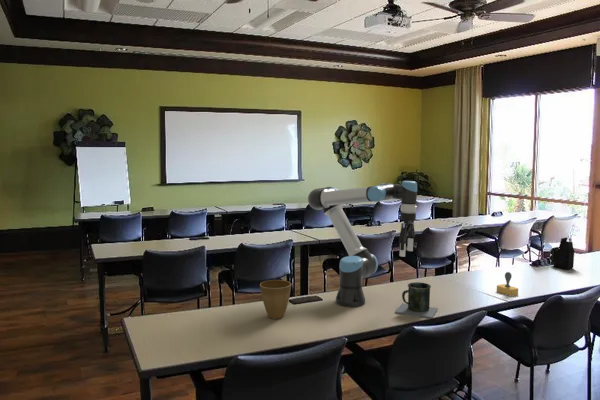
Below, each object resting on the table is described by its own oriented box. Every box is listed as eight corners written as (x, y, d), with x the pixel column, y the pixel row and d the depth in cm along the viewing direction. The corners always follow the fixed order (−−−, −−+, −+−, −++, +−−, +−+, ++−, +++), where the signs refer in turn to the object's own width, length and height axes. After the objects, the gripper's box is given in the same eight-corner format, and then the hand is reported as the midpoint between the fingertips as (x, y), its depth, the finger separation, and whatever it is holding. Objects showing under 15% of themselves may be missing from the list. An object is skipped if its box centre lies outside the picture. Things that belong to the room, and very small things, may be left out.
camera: (554, 264, 341) (556, 235, 339) (574, 268, 330) (576, 238, 328) (546, 266, 335) (548, 236, 333) (566, 270, 324) (568, 240, 322)
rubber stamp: (518, 294, 274) (519, 273, 273) (511, 296, 271) (512, 274, 270) (503, 290, 283) (504, 269, 281) (496, 291, 280) (497, 270, 279)
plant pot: (297, 314, 243) (297, 282, 241) (280, 324, 230) (280, 290, 228) (271, 309, 250) (271, 277, 248) (253, 318, 238) (253, 285, 236)
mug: (434, 311, 245) (435, 287, 243) (407, 314, 241) (408, 289, 239) (423, 304, 255) (423, 281, 254) (397, 307, 251) (397, 283, 250)
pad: (394, 313, 245) (394, 311, 244) (402, 304, 257) (402, 303, 257) (432, 318, 237) (432, 317, 237) (437, 309, 249) (437, 308, 249)
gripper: (408, 216, 238) (406, 259, 241) (422, 209, 260) (420, 249, 263) (393, 214, 242) (391, 257, 245) (408, 208, 264) (406, 247, 267)
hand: (406, 253), depth 254 cm, fingers open, 13 cm apart
